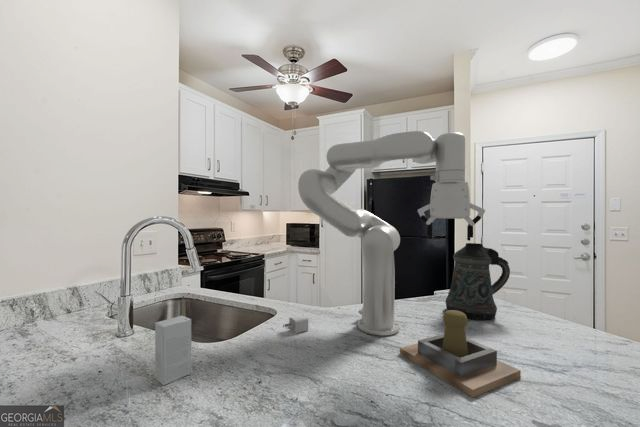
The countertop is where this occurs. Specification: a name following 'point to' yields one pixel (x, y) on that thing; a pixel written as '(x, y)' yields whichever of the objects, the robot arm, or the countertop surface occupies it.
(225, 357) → the countertop surface
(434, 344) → the shaker holder
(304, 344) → the countertop surface
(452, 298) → the beer stein
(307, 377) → the countertop surface
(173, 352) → the skincare box
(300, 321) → the usb wall charger
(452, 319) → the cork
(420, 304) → the countertop surface
